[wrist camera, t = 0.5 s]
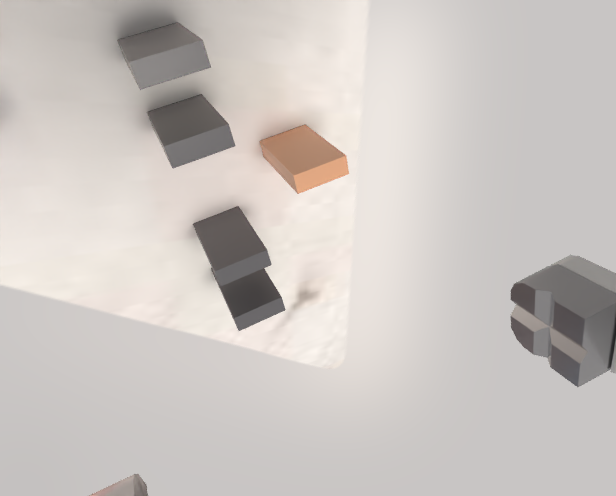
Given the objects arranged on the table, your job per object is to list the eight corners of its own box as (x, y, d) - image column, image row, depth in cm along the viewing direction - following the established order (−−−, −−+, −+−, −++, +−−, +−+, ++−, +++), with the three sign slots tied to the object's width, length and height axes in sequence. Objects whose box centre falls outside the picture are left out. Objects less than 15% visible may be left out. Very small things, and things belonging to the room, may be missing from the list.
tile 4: (117, 39, 37) (129, 62, 30) (177, 22, 38) (202, 39, 31) (126, 63, 38) (140, 89, 31) (185, 45, 39) (210, 67, 32)
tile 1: (211, 268, 52) (233, 318, 45) (253, 250, 53) (281, 297, 46) (216, 280, 53) (238, 331, 46) (257, 262, 54) (285, 310, 47)
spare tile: (259, 140, 46) (293, 175, 39) (305, 124, 47) (346, 155, 40) (263, 157, 47) (297, 193, 40) (308, 140, 48) (348, 173, 41)
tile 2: (192, 223, 48) (214, 271, 41) (238, 206, 49) (266, 249, 42) (198, 237, 49) (220, 286, 42) (243, 220, 50) (271, 264, 43)
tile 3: (146, 112, 41) (163, 146, 34) (201, 94, 42) (228, 123, 35) (154, 131, 42) (172, 168, 35) (207, 113, 43) (235, 146, 36)
